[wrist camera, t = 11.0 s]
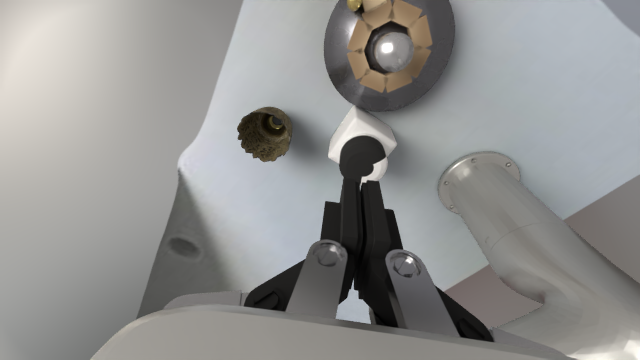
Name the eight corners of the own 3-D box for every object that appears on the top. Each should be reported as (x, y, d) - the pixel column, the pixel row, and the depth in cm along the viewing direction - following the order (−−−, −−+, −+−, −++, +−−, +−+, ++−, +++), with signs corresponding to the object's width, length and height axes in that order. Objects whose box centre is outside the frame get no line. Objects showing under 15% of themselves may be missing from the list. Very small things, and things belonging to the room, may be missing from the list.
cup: (271, 147, 43) (256, 169, 37) (246, 110, 40) (226, 126, 33) (307, 130, 41) (299, 150, 34) (284, 89, 38) (270, 102, 31)
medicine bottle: (329, 139, 41) (323, 174, 31) (354, 102, 38) (356, 129, 28) (364, 160, 43) (369, 200, 33) (391, 127, 39) (405, 161, 29)
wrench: (434, 69, 31) (452, 77, 26) (364, 99, 34) (367, 113, 29) (398, -93, 24) (413, -130, 19) (313, -38, 27) (304, -55, 22)
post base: (456, 78, 35) (490, 94, 26) (350, 121, 39) (351, 147, 31) (430, -60, 28) (467, -99, 19) (306, 13, 32) (291, 8, 24)
